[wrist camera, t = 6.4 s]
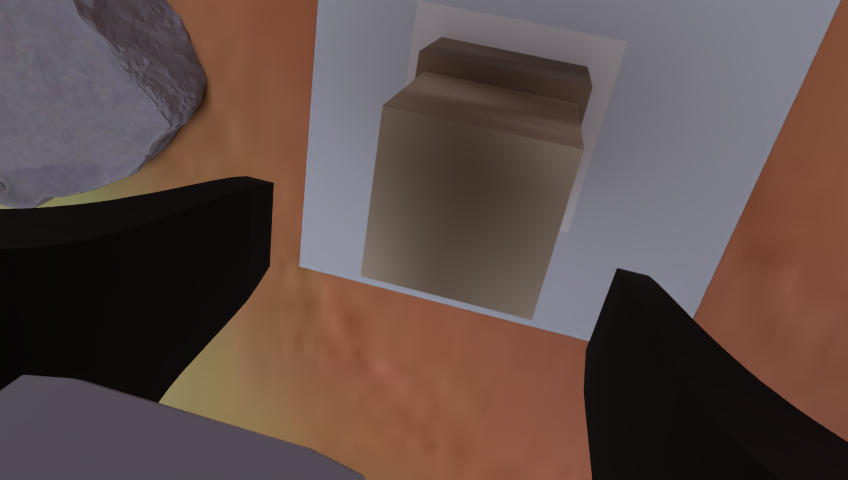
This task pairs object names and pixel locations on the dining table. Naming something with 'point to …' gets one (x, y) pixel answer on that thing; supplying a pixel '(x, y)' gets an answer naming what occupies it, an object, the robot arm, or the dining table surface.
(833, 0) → the mat
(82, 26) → the stone block
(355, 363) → the dining table surface
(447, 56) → the walnut block
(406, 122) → the maple cube
